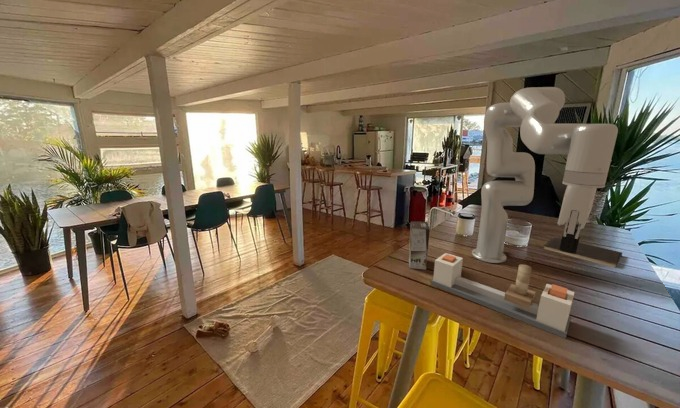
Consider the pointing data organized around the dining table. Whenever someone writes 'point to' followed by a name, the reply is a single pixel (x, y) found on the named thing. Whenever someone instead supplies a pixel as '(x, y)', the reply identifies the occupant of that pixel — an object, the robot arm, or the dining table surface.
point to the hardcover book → (587, 252)
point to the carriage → (521, 288)
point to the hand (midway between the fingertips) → (567, 251)
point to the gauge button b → (558, 291)
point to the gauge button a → (449, 258)
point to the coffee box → (418, 245)
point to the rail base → (501, 307)
